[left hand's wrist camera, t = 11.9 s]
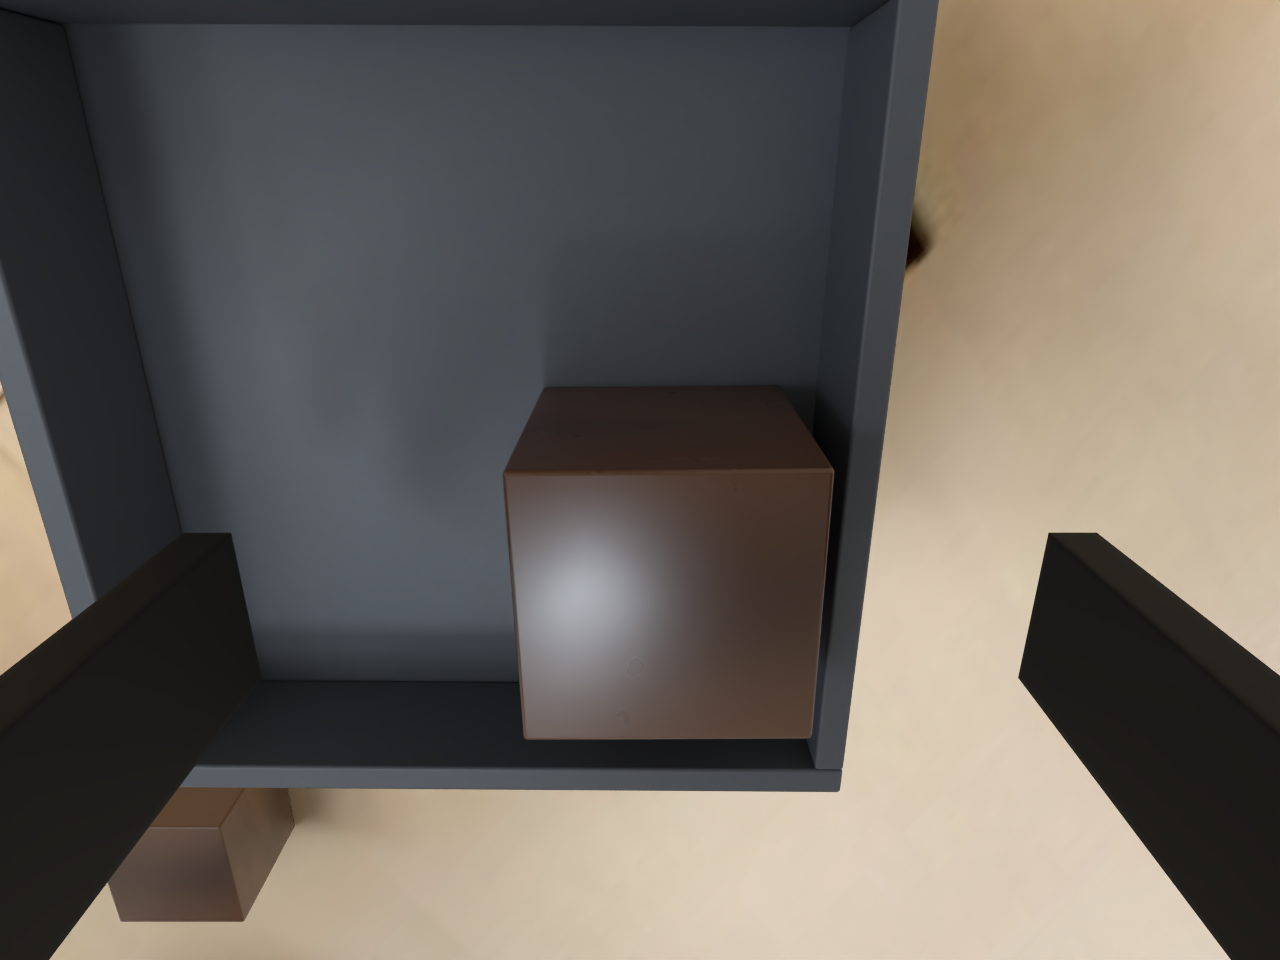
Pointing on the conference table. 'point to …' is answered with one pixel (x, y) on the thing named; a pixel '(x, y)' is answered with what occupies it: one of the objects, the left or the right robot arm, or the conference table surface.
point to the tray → (436, 323)
